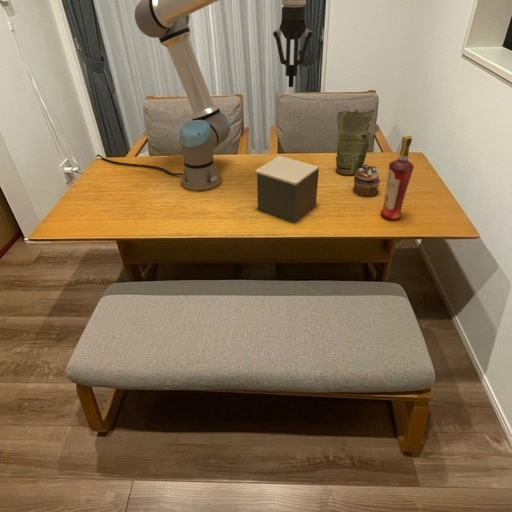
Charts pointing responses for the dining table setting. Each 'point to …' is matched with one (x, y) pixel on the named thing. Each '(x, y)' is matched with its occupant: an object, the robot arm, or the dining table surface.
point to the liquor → (397, 182)
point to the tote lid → (287, 170)
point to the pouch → (352, 140)
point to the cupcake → (366, 181)
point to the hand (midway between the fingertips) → (290, 85)
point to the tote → (287, 196)
